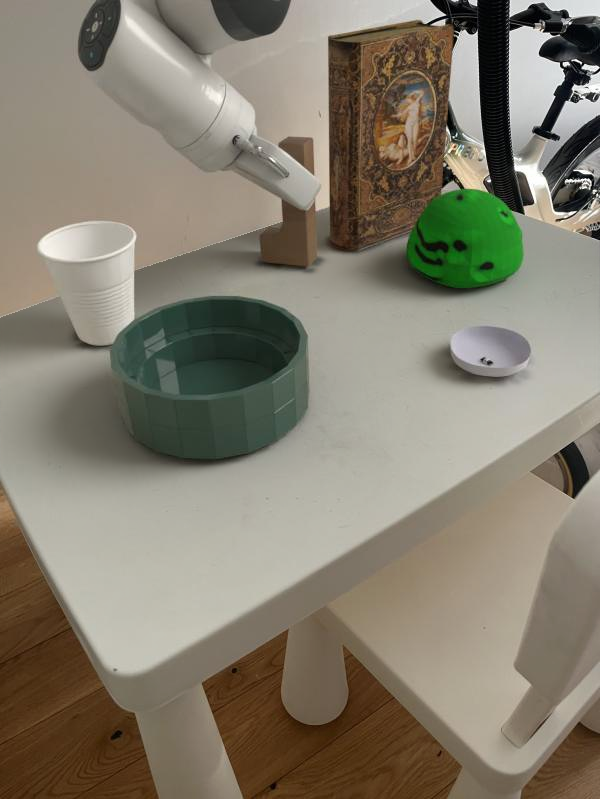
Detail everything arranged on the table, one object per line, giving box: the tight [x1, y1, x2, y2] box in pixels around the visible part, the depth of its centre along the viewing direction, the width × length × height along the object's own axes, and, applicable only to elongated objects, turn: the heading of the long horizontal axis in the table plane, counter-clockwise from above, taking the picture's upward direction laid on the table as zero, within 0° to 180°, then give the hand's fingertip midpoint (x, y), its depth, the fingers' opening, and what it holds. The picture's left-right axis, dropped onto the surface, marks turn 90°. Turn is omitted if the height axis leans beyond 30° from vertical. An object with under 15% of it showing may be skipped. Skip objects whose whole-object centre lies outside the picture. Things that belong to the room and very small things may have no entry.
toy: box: [405, 188, 524, 289], centre depth 88 cm, size 14×13×10 cm
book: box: [327, 19, 455, 253], centre depth 94 cm, size 16×6×25 cm, turn 128°
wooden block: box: [259, 136, 318, 268], centre depth 90 cm, size 7×3×15 cm, turn 69°
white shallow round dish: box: [449, 325, 532, 378], centre depth 73 cm, size 8×8×2 cm
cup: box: [36, 220, 137, 347], centre depth 78 cm, size 10×10×11 cm
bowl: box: [109, 295, 310, 460], centre depth 67 cm, size 17×17×7 cm
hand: (295, 196), depth 89 cm, fingers closed on wooden block, 4 cm apart
